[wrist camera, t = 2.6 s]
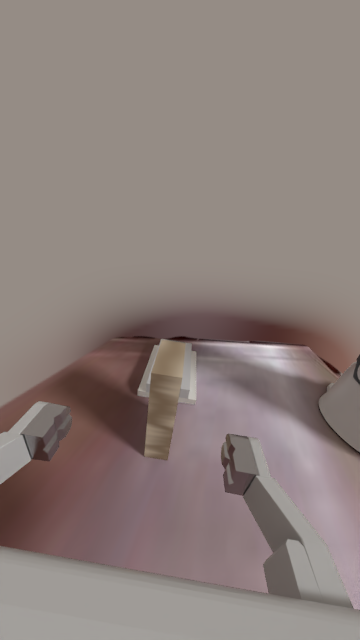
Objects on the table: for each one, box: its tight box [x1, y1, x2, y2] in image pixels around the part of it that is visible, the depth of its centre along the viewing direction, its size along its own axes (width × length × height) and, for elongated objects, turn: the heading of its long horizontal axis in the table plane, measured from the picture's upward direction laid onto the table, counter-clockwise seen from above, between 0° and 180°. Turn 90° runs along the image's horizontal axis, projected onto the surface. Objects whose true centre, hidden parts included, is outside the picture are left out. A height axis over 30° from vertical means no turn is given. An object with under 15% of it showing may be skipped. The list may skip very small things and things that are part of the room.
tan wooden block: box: [144, 340, 186, 460], centre depth 23 cm, size 3×6×14 cm, turn 175°
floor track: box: [138, 339, 196, 405], centre depth 37 cm, size 10×14×3 cm
